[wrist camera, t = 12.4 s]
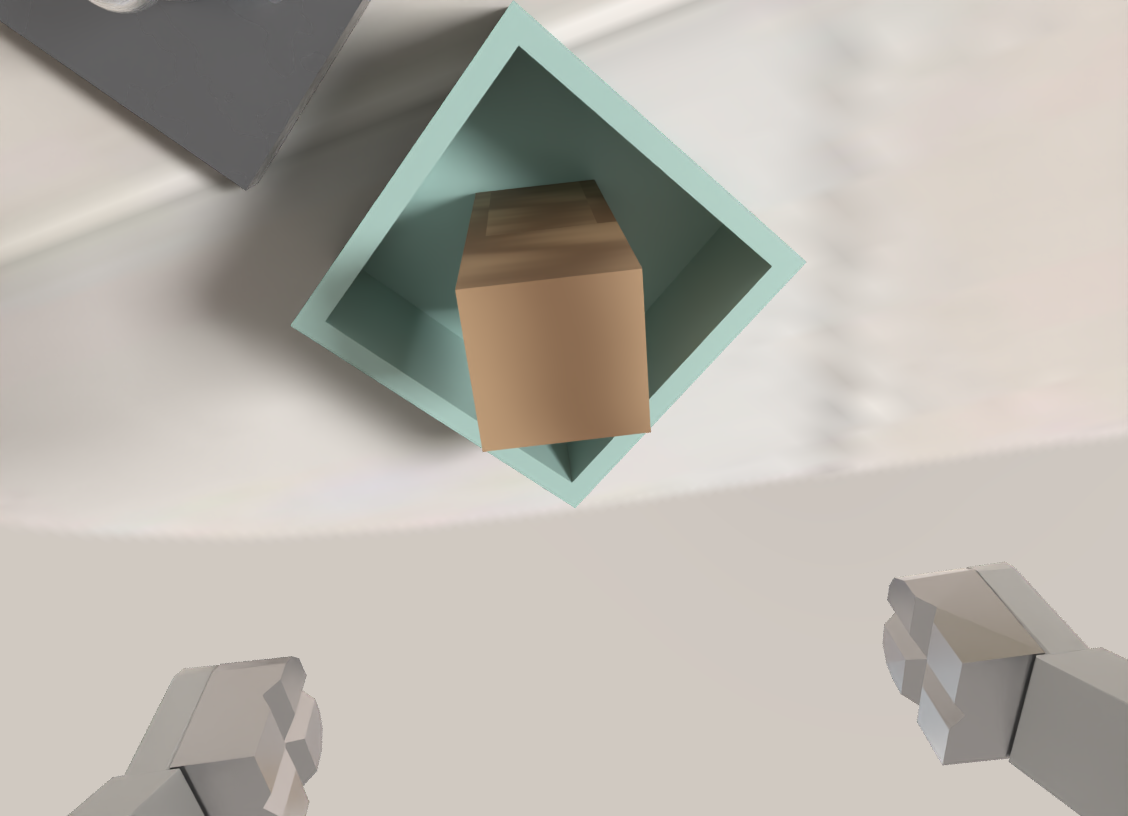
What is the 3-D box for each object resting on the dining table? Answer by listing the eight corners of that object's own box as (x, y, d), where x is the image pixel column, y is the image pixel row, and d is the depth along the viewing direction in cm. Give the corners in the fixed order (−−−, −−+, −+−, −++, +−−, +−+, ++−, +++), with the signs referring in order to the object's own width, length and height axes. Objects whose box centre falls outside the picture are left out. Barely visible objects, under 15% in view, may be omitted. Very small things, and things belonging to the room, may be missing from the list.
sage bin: (335, 264, 31) (290, 326, 25) (512, 5, 27) (513, 0, 21) (563, 421, 35) (575, 508, 29) (746, 214, 31) (806, 262, 25)
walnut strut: (492, 306, 31) (482, 451, 21) (475, 192, 29) (454, 289, 18) (603, 293, 31) (651, 432, 21) (594, 179, 29) (642, 268, 18)
